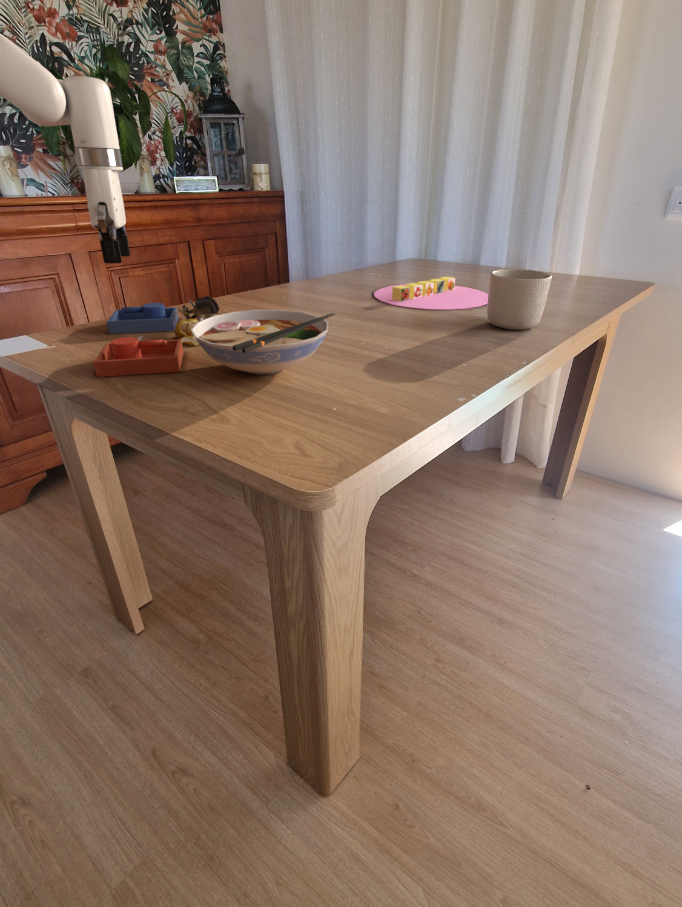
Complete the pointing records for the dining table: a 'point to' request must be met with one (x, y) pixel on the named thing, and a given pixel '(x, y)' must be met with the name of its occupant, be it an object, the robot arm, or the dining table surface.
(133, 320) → the blue tray
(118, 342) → the red scoop
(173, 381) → the dining table surface
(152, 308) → the blue scoop
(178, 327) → the fruit
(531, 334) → the dining table surface
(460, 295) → the platter
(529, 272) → the planter
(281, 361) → the ramen bowl
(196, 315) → the brown figurine
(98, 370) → the red tray
